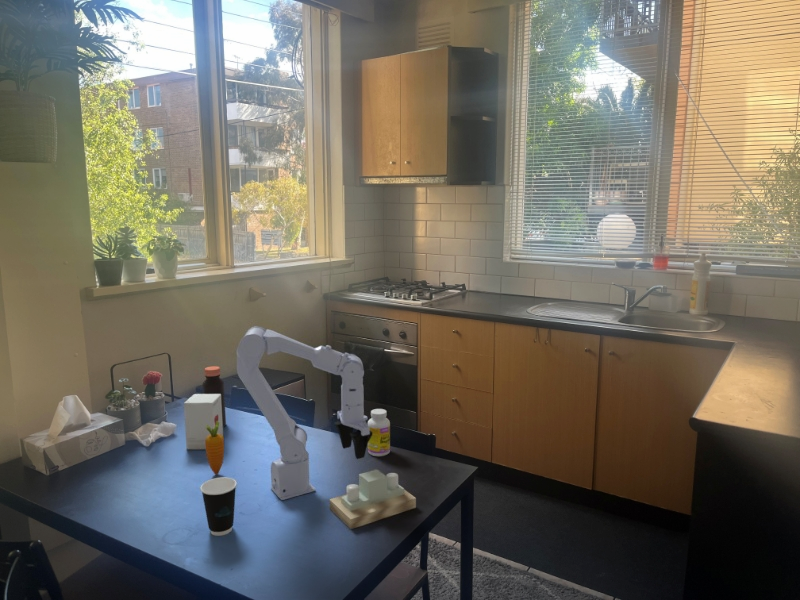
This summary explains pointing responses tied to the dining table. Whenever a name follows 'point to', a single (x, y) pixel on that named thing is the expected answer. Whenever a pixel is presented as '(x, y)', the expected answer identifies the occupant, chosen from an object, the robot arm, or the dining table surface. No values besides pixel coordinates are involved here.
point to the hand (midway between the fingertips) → (353, 452)
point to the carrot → (214, 448)
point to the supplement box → (201, 418)
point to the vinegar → (215, 386)
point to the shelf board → (372, 510)
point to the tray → (372, 490)
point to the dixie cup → (219, 504)
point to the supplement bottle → (379, 433)
